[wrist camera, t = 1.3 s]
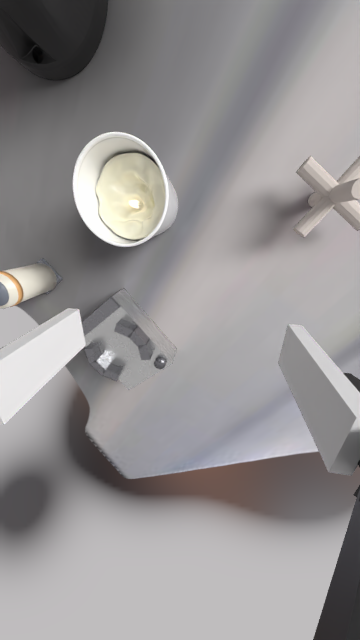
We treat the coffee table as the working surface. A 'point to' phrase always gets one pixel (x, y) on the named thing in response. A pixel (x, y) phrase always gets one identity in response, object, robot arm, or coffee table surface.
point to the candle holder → (123, 190)
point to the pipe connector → (330, 195)
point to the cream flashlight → (26, 283)
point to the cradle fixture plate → (126, 341)
